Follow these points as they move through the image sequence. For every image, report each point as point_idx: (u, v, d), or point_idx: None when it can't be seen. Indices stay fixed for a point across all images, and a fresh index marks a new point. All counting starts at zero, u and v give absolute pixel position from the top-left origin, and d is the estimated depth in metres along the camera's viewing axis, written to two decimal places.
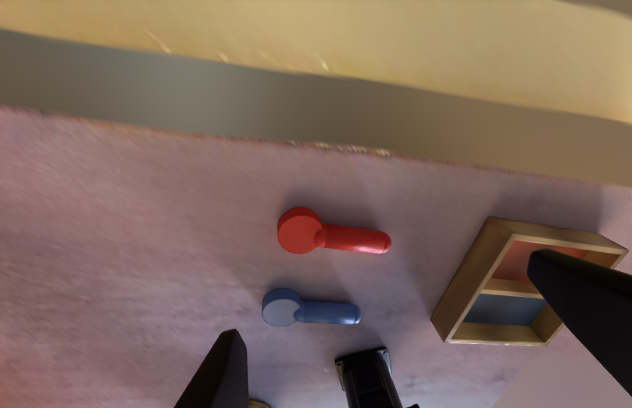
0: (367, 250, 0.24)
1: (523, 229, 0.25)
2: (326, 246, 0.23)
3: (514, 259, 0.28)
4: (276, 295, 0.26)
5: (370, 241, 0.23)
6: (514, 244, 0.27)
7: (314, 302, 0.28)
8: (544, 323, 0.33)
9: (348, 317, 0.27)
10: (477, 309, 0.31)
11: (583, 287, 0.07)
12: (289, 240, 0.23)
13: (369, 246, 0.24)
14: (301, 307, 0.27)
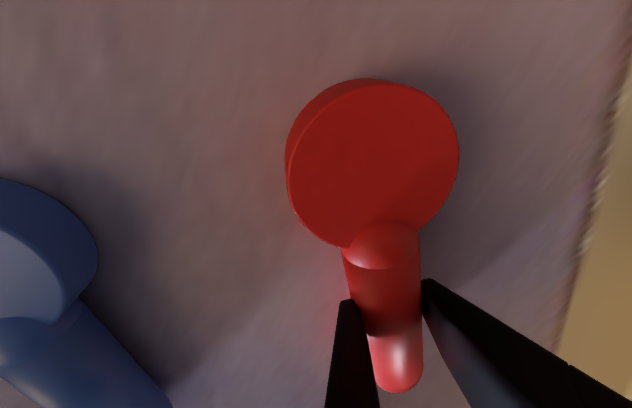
0: (389, 364, 0.08)
1: None
2: (367, 275, 0.07)
3: None
4: (32, 218, 0.06)
5: (416, 355, 0.08)
6: None
7: (105, 335, 0.08)
8: None
9: None
10: None
11: (445, 323, 0.07)
12: (343, 149, 0.06)
13: (404, 362, 0.08)
14: (56, 325, 0.07)
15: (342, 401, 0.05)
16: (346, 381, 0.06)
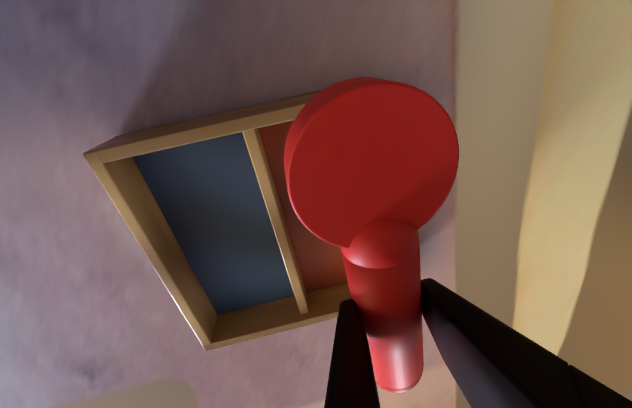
0: (389, 364, 0.08)
1: None
2: (368, 274, 0.07)
3: None
4: None
5: (416, 354, 0.08)
6: None
7: None
8: (238, 321, 0.19)
9: None
10: (199, 204, 0.16)
11: (445, 323, 0.07)
12: (342, 148, 0.06)
13: (404, 362, 0.08)
14: None
15: (342, 401, 0.05)
16: (346, 381, 0.06)
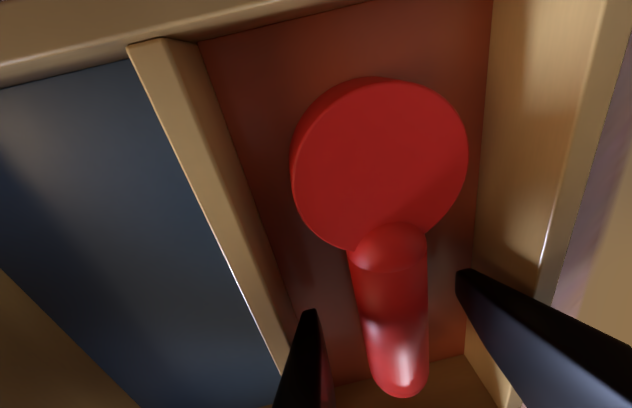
0: (394, 369, 0.08)
1: None
2: (374, 278, 0.06)
3: None
4: None
5: (423, 359, 0.08)
6: None
7: None
8: None
9: None
10: (88, 253, 0.07)
11: (493, 311, 0.07)
12: (349, 149, 0.05)
13: (410, 367, 0.08)
14: None
15: None
16: (292, 395, 0.06)
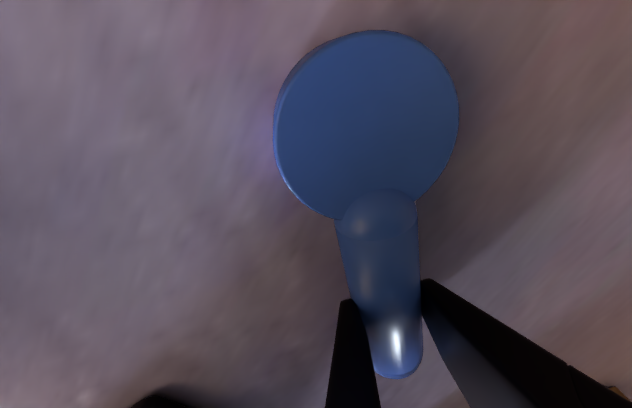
0: None
1: None
2: None
3: None
4: None
5: None
6: None
7: None
8: None
9: (414, 352, 0.08)
10: None
11: (445, 324, 0.07)
12: None
13: None
14: None
15: (343, 401, 0.05)
16: (347, 381, 0.06)
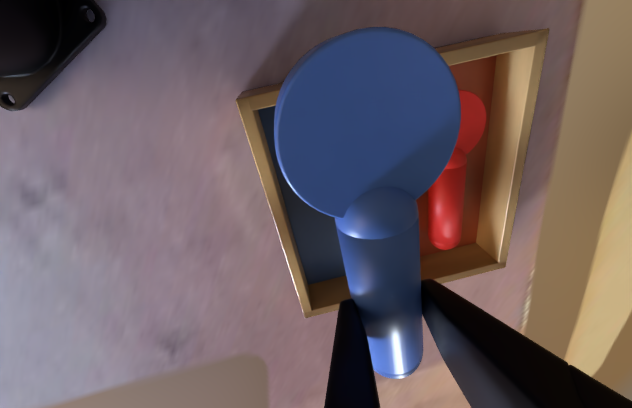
0: (447, 226, 0.17)
1: None
2: (445, 172, 0.15)
3: None
4: None
5: (460, 222, 0.17)
6: None
7: None
8: (333, 289, 0.19)
9: (414, 351, 0.08)
10: None
11: (445, 323, 0.07)
12: None
13: (454, 225, 0.17)
14: None
15: (342, 401, 0.05)
16: (346, 381, 0.06)
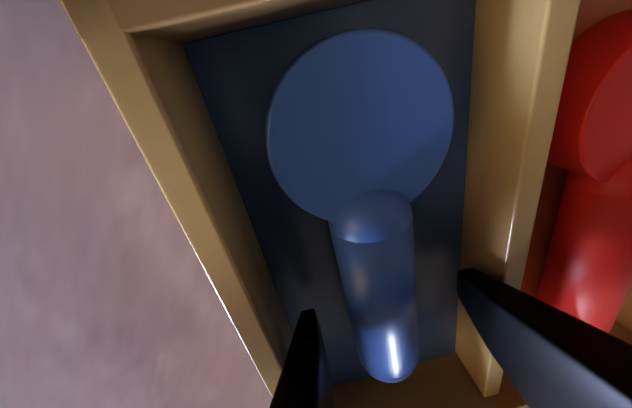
0: (598, 310, 0.08)
1: None
2: (627, 207, 0.07)
3: None
4: None
5: (624, 300, 0.08)
6: None
7: None
8: (362, 407, 0.11)
9: (410, 355, 0.08)
10: None
11: (494, 310, 0.07)
12: None
13: (614, 307, 0.08)
14: None
15: None
16: (290, 396, 0.06)
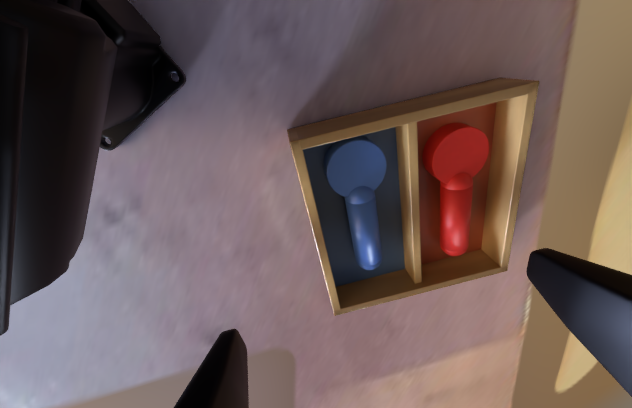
0: (456, 237, 0.20)
1: None
2: (454, 193, 0.18)
3: None
4: None
5: (467, 233, 0.20)
6: None
7: None
8: (358, 291, 0.22)
9: (377, 254, 0.20)
10: None
11: (583, 287, 0.07)
12: (452, 147, 0.17)
13: (463, 236, 0.20)
14: None
15: None
16: None
